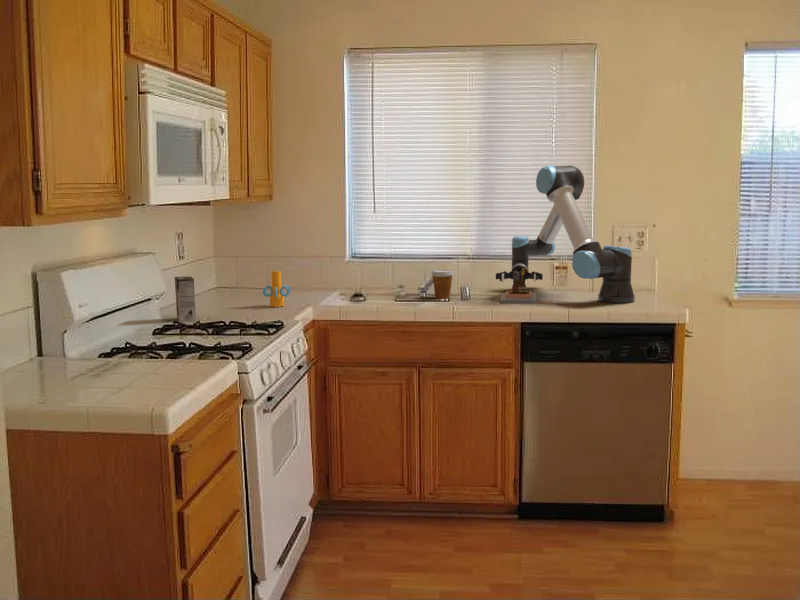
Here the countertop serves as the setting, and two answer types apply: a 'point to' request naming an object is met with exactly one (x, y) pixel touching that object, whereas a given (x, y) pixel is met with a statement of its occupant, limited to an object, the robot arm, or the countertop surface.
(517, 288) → the utensil holder
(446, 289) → the disposable coffee cup
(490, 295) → the countertop surface
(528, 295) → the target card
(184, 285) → the coffee box
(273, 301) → the cylinder
